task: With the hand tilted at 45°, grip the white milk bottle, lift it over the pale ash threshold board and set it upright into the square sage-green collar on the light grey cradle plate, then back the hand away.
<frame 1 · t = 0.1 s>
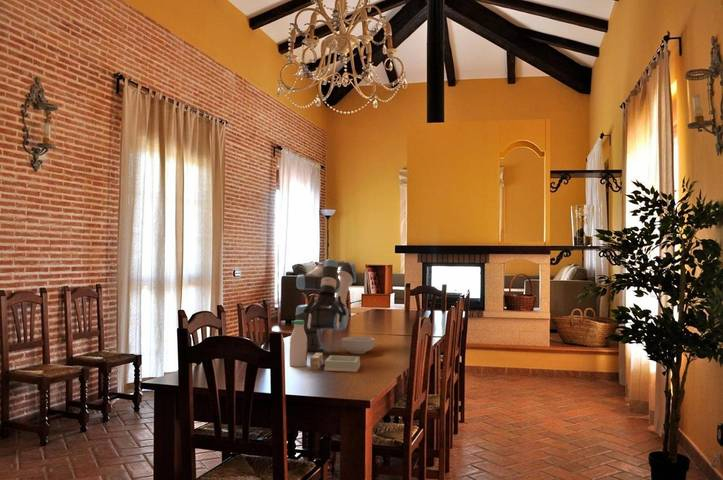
hand: (323, 327, 278), 15 cm above the table, tool tilted 35°, fingers open, 13 cm apart
cradle: (342, 367, 262), on the table
cereal bowl: (357, 353, 301), on the table
milk bottle: (298, 366, 265), on the table
threshold board: (316, 366, 263), on the table
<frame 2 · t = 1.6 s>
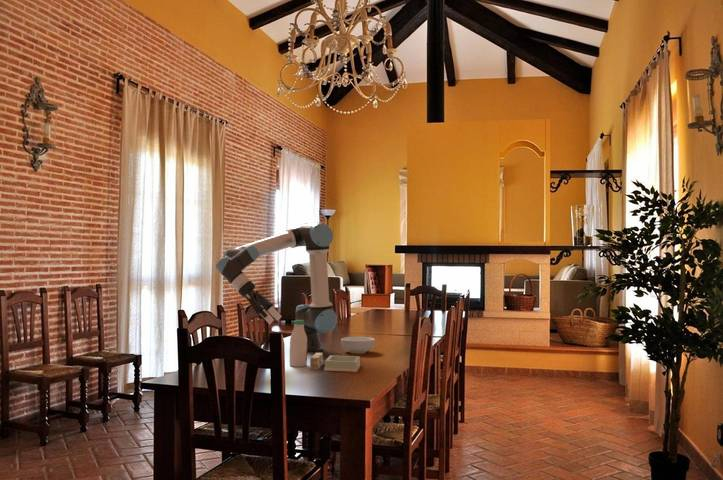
hand: (275, 320, 266), 20 cm above the table, tool tilted 45°, fingers open, 13 cm apart
nothing on the table moved.
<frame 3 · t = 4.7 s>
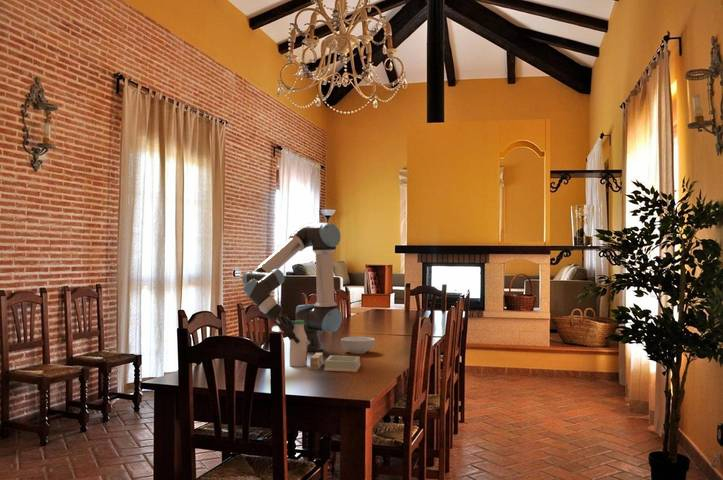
hand: (306, 346, 265), 9 cm above the table, tool tilted 45°, fingers closed on milk bottle, 7 cm apart
milk bottle: (298, 366, 265), on the table, touching gripper
everything else where it was.
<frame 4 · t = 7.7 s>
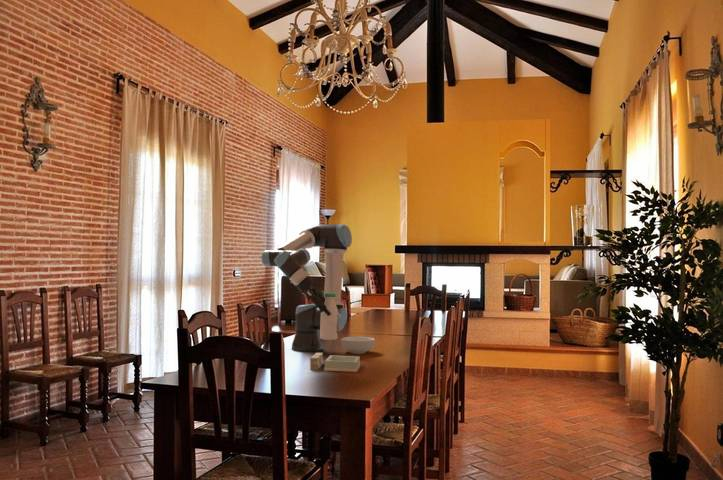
hand: (337, 319, 261), 21 cm above the table, tool tilted 45°, fingers closed on milk bottle, 7 cm apart
milk bottle: (328, 339, 261), point 12 cm above the table, touching gripper
everything else where it was.
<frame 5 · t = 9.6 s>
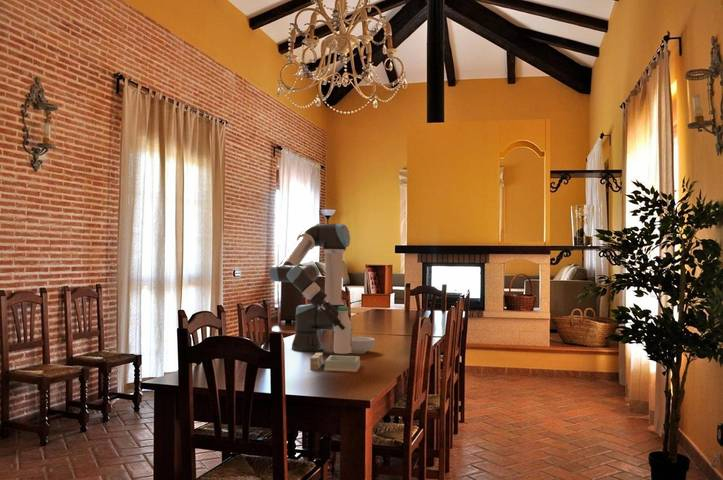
hand: (350, 333, 261), 15 cm above the table, tool tilted 45°, fingers closed on milk bottle, 7 cm apart
milk bottle: (342, 353, 261), point 6 cm above the table, touching gripper
everything else where it was.
when the fingers open (11 cm above the table, at t = 11.0 s): milk bottle drops 1 cm, resting on cradle.
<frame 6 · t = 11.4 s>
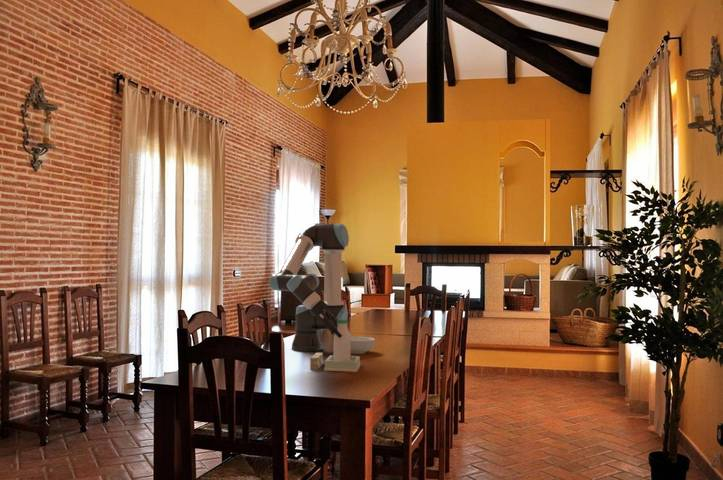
hand: (348, 340, 262), 12 cm above the table, tool tilted 45°, fingers open, 12 cm apart
milk bottle: (342, 365, 262), point 1 cm above the table, touching cradle
everything else where it was.
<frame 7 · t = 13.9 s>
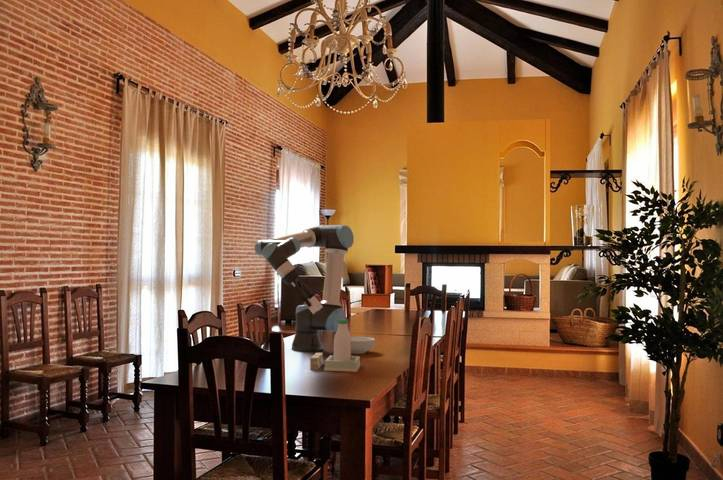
hand: (318, 310, 265), 24 cm above the table, tool tilted 40°, fingers open, 13 cm apart
nothing on the table moved.
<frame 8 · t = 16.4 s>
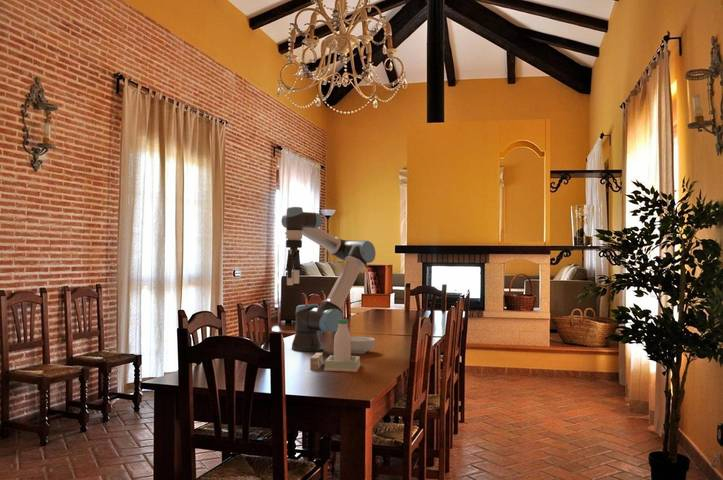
hand: (293, 284, 284), 35 cm above the table, tool pointing down, fingers open, 13 cm apart
nothing on the table moved.
at the end: milk bottle 0.2 cm off-centre on the cradle, point 0.8 cm above the cradle's base; milk bottle tilted 0°; the gripper is holding nothing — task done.
